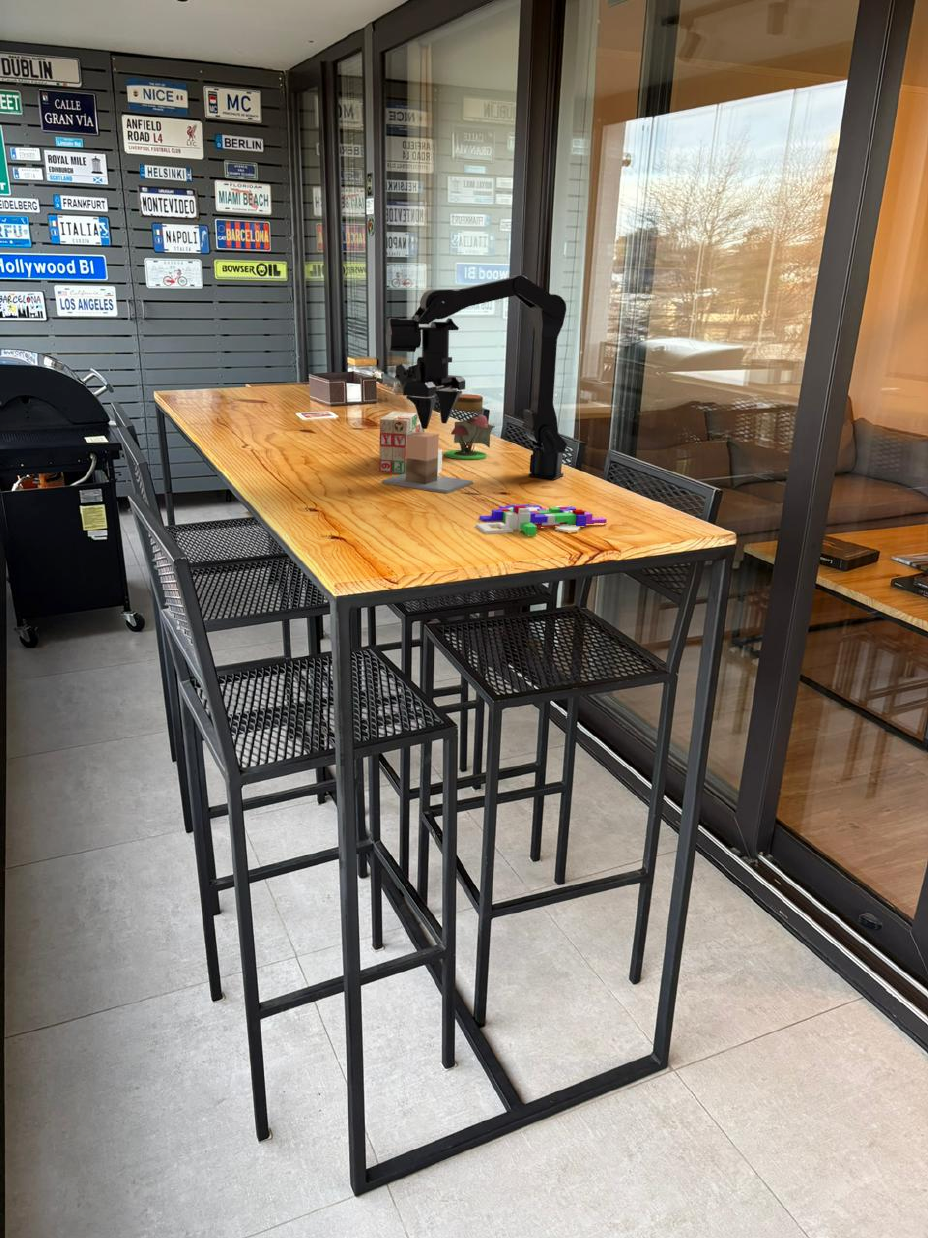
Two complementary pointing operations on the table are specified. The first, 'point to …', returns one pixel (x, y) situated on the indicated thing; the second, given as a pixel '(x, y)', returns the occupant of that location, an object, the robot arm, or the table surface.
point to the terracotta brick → (422, 446)
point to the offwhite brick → (439, 461)
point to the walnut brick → (421, 470)
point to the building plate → (439, 486)
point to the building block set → (536, 519)
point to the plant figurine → (470, 429)
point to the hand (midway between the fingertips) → (434, 425)
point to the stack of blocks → (396, 440)
